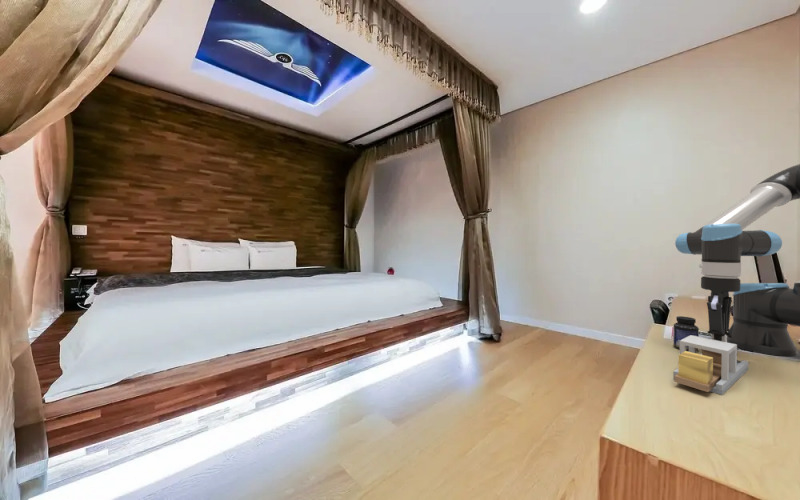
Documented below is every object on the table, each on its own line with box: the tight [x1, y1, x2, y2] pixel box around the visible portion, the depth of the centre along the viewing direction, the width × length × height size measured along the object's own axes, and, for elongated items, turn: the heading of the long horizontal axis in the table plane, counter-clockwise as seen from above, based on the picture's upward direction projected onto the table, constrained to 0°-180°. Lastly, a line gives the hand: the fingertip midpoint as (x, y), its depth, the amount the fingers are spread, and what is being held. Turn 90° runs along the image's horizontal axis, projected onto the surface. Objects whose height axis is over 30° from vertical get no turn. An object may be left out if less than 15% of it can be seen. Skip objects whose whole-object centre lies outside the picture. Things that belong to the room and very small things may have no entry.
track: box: [672, 335, 749, 396], centre depth 78 cm, size 27×9×10 cm, turn 120°
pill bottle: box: [673, 315, 700, 353], centre depth 97 cm, size 6×6×11 cm
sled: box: [673, 349, 730, 393], centre depth 74 cm, size 22×6×7 cm, turn 120°
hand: (718, 356), depth 81 cm, fingers closed
